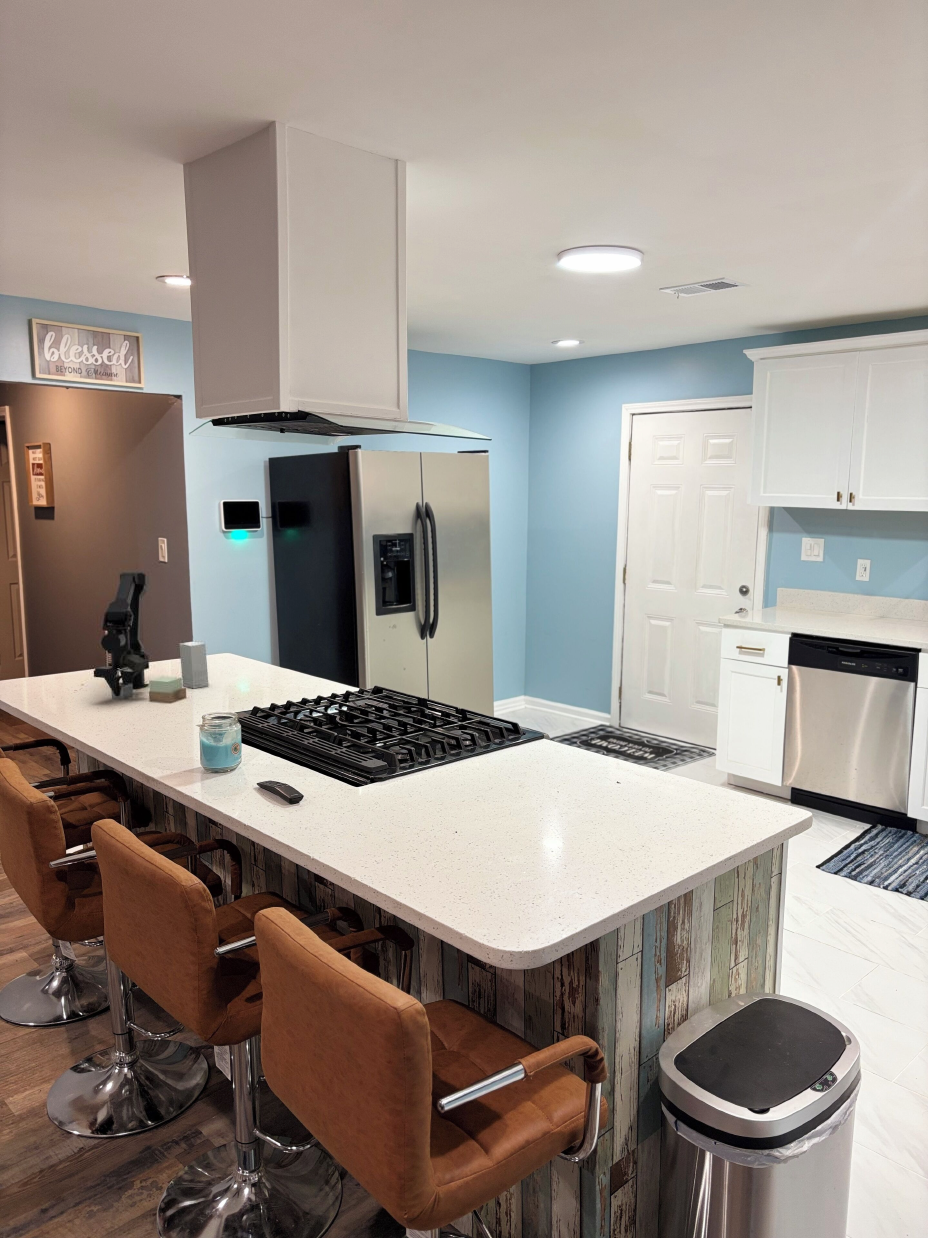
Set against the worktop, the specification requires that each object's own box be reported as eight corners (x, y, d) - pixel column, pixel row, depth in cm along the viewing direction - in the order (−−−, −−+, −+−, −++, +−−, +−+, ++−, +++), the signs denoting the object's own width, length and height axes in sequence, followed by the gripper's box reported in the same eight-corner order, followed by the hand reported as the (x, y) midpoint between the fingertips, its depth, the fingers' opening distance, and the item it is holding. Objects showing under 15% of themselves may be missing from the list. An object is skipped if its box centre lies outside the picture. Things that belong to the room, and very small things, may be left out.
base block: (165, 696, 290) (164, 686, 290) (186, 698, 288) (185, 688, 287) (149, 702, 283) (148, 691, 282) (170, 704, 280) (170, 693, 280)
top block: (163, 686, 289) (162, 676, 289) (182, 688, 287) (181, 677, 286) (149, 691, 282) (149, 680, 282) (168, 692, 280) (168, 681, 280)
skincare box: (208, 686, 304) (207, 643, 302) (192, 689, 300) (190, 645, 298) (197, 682, 310) (195, 640, 308) (180, 685, 306) (178, 642, 304)
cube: (121, 696, 290) (120, 682, 289) (132, 697, 289) (132, 683, 288) (111, 699, 286) (111, 685, 285) (123, 700, 284) (122, 686, 284)
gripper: (121, 652, 274) (123, 703, 276) (160, 643, 291) (162, 690, 293) (91, 650, 277) (93, 700, 279) (131, 641, 295) (133, 688, 297)
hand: (122, 694), depth 287 cm, fingers closed on cube, 4 cm apart
